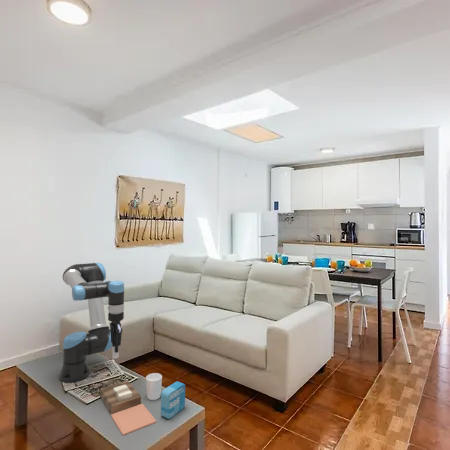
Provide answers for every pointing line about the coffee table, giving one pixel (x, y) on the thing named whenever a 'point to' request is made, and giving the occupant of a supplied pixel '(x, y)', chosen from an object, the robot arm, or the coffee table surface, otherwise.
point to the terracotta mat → (133, 419)
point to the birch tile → (122, 392)
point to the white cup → (153, 386)
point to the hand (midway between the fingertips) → (115, 357)
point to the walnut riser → (113, 402)
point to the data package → (172, 399)
